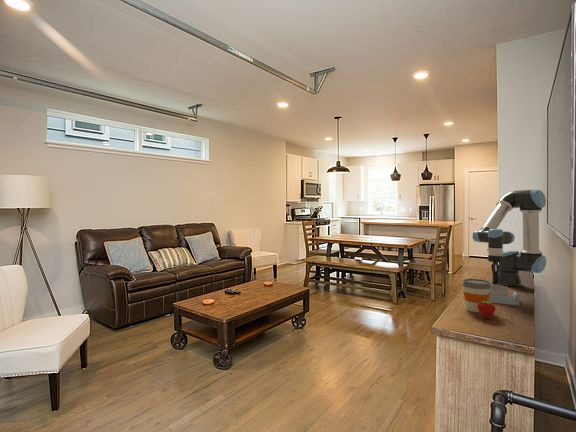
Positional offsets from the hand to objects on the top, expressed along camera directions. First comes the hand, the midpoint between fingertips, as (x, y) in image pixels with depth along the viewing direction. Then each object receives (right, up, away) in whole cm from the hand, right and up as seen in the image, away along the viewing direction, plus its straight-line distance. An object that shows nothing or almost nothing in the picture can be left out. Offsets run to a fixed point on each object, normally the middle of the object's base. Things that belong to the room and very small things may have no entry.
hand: (495, 294), depth 199 cm
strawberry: (-29, -2, -40) cm, 49 cm away
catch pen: (-3, -2, -6) cm, 7 cm away
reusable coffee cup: (-26, -2, -26) cm, 37 cm away
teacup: (-4, -2, -6) cm, 8 cm away
